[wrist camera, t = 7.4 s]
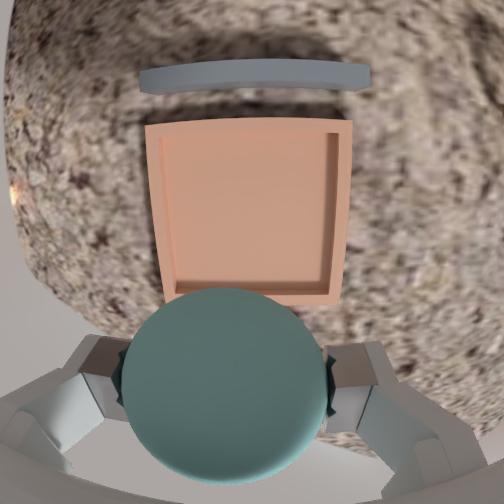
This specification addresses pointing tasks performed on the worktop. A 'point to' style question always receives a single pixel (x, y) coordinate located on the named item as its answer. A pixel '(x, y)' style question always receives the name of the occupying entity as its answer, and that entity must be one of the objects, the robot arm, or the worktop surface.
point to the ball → (224, 386)
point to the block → (255, 75)
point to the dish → (252, 205)
